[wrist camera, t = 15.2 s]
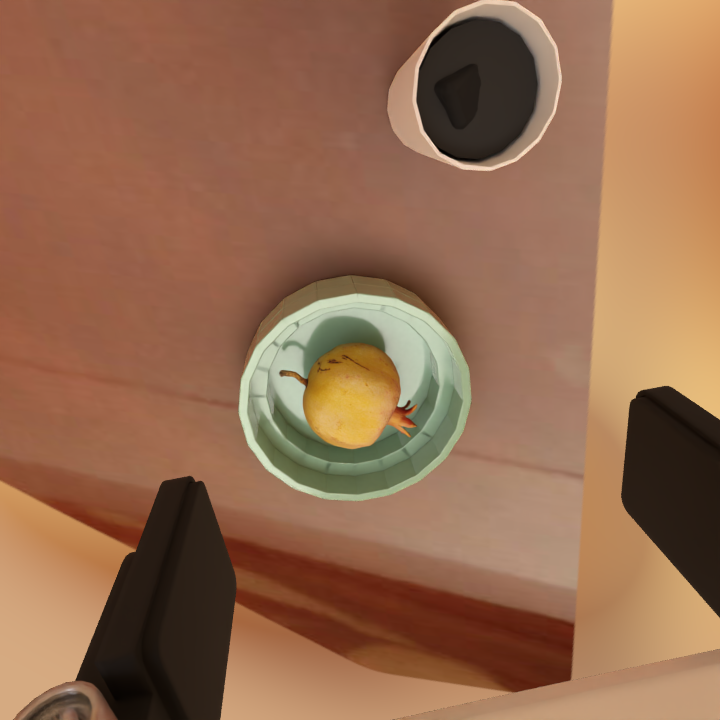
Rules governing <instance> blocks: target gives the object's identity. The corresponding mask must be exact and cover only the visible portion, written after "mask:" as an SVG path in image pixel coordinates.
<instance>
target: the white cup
mask: <svg viewBox="0 0 720 720" xmlns="http://www.w3.org/2000/svg"><path fill="white" fill-rule="evenodd" d="M561 82H562V76H561V69H560V63H559V56H558V49H557V46H556V44H555V42H554V40H553V39H552V37H551V35H550V34H549V32H548V30H547V28H546V27H545V25H544V23H543V22H542V20H541V19H540V18H539V17H537V16H536V15H534V14H533V13H531V12H530V11H528V10H527V9H525V8H524V7H522V6H521V5H520V4H518V3H517V2H512V1H502V0H480V1H478V2H475V3H473V4H470V5H467V6H465V7H462V8H459V9H457V10H455V11H454V12H453V13H452V14H451V15H450V16H449V17H448V18H446V19H445V20H444V21H443V22H442V23H441V24H440V25H439V26H438V27H437V28H436V29H435V30H434V31H433V32H432V33H431V34H430V35H429V36H428V38H427V39H426V40H425V41H424V42H423V43H422V44H421V45H420V46H419V48H418V49H417V50H416V51H415V52H414V53H413V54H412V55H411V57H410V58H409V59H408V60H407V61H406V62H405V63H404V64H403V66H402V67H401V68H400V69H399V70H398V71H397V73H396V75H395V77H394V80H393V82H392V84H391V86H390V88H389V93H388V106H387V112H388V116H389V119H390V123H391V126H392V130H393V131H394V133H395V134H396V135H397V137H398V138H399V139H400V140H401V142H402V143H403V144H404V145H405V146H407V147H409V148H410V149H412V150H414V151H416V152H418V153H419V154H423V155H425V156H428V157H431V158H433V159H436V160H439V161H441V162H444V163H447V164H449V165H452V166H455V167H457V168H460V169H465V170H480V171H491V170H494V169H497V168H500V167H502V166H505V165H508V164H510V163H513V162H516V161H517V160H519V159H520V158H521V157H522V156H523V155H524V154H525V153H526V152H528V151H529V150H530V149H531V148H532V147H533V146H534V145H536V144H537V143H538V142H539V141H540V139H541V138H542V136H543V134H544V132H545V130H546V129H547V127H548V125H549V123H550V122H551V120H552V118H553V116H554V114H555V113H556V108H557V103H558V98H559V92H560V87H561Z"/></svg>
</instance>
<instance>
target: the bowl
mask: <svg viewBox="0 0 720 720" xmlns="http://www.w3.org/2000/svg"><path fill="white" fill-rule="evenodd" d="M346 343H365V344H369V345H373V346H375V347H377V348H379V349H381V350H382V351H383V352H384V353H386V354H387V355H388V356H389V357H390V358H391V360H392V361H393V363H394V365H395V367H396V369H397V372H398V374H399V378H400V387H401V395H400V399H399V402H398V405H397V406H398V407H404V406H405V405H406V404H407V402H408V400H410V401H411V403H410V406H409V407H407V408H406V410H408V409H410V408H411V407H413V406H414V405H416V404H417V408H416V409H415V410H414V411H413V412H412V413H411V414H410V415H408V416H406V417H407V418H409V419H411V420H412V421H413V422H414V423H415V424H416V425H417V427H413V428H407V427H404V426H402V428H404V429H405V430H406V431H407V432H408V433H410V435H411V437H408V436H407V435H405V434H404V433H401V431H399V430H397V429H396V428H395V427H393V426H391V425H386V427H385V428H384V430H383V432H382V433H381V435H380V436H379V437H378V439H377V440H376V441H375V442H374V443H373V444H372V445H370V446H366V447H361V448H356V449H347V448H342V447H338V446H334V445H332V444H330V443H327V442H325V441H324V440H322V439H321V438H320V437H319V436H318V435H317V434H316V433H315V432H314V431H313V430H312V429H311V427H310V426H309V424H308V422H307V420H306V418H305V414H304V410H303V395H304V391H305V388H306V386H305V385H304V384H302V383H300V382H299V381H298V380H297V379H296V378H294V377H287V376H283V377H280V375H279V372H280V371H281V370H287V371H293V372H296V373H298V374H299V375H300V376H302V377H303V378H305V379H307V378H308V374H309V372H310V370H311V368H312V366H313V365H314V363H315V362H316V361H317V360H318V358H319V357H321V356H322V355H324V354H325V353H327V352H329V351H330V350H332V349H333V348H334V347H336V346H338V345H341V344H346ZM471 400H472V398H471V386H470V373H469V367H468V365H467V363H466V361H465V358H464V356H463V354H462V352H461V350H460V348H459V346H458V343H457V341H456V339H455V338H454V336H453V335H452V334H451V333H450V331H449V330H448V329H447V327H446V326H445V325H444V323H443V322H442V321H441V320H440V318H439V317H438V316H437V315H436V314H435V313H434V312H433V311H432V310H431V309H430V308H429V307H428V306H427V305H426V304H425V303H424V302H423V301H422V300H421V299H420V298H419V297H418V296H417V295H416V294H415V293H413V292H411V291H409V290H407V289H404V288H402V287H400V286H398V285H396V284H394V283H392V282H390V281H388V280H385V279H378V278H371V277H363V276H355V275H351V276H350V275H348V276H342V277H337V278H331V279H326V280H320V281H316V282H313V283H311V284H309V285H308V286H306V287H304V288H302V289H300V290H298V291H296V292H295V293H293V294H291V295H289V296H287V297H285V299H283V300H282V301H281V302H280V303H279V304H278V305H277V306H276V307H275V308H274V309H273V310H272V312H271V313H270V314H269V315H268V316H267V317H266V318H265V319H264V320H263V321H262V322H261V323H260V326H259V328H258V330H257V332H256V334H255V337H254V339H253V341H252V343H251V345H250V348H249V350H248V352H247V356H246V360H245V364H244V368H243V372H242V376H241V380H240V394H239V408H238V412H239V413H238V414H239V417H240V420H241V424H242V427H243V431H244V434H245V437H246V441H247V443H248V445H249V447H250V448H251V450H252V451H253V452H254V454H255V455H256V456H257V458H258V459H259V460H260V462H261V463H262V464H263V466H264V467H265V468H266V470H268V471H269V472H270V473H272V474H273V475H275V476H276V477H277V478H279V479H280V480H282V481H283V482H284V483H286V484H287V485H289V486H290V487H292V488H294V489H296V490H299V491H302V492H304V493H307V494H310V495H313V496H316V497H319V498H322V499H328V500H345V501H362V500H367V499H372V498H378V497H383V496H388V495H392V494H394V493H396V492H398V491H400V490H402V489H404V488H406V487H408V486H410V485H412V484H414V483H416V482H419V481H420V480H422V479H423V478H424V477H425V476H426V475H428V474H429V473H430V472H431V471H432V470H433V469H435V468H436V467H437V466H438V465H439V464H440V463H441V462H443V461H444V460H445V458H447V456H448V454H449V453H450V451H451V450H452V448H453V447H454V445H455V444H456V442H457V441H458V439H459V437H460V436H461V434H462V433H463V431H464V427H465V423H466V420H467V416H468V412H469V408H470V405H471Z"/></svg>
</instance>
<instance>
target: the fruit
mask: <svg viewBox="0 0 720 720" xmlns="http://www.w3.org/2000/svg"><path fill="white" fill-rule="evenodd" d="M279 375H280V377H283V376H287V377H294V378H296V379H297V380H298V381H299V382H300V383H302V384H304V385H305V386H306V388H305V391H304V395H303V410H304V414H305V418H306V420H307V422H308V424H309V426H310V427H311V429H312V430H313V431H314V432H315V433H316V434H317V435H318V436H319V437H320V438H321V439H322V440H324V441H325V442H327V443H330V444H332V445H334V446H338V447H342V448H347V449H356V448H361V447H366V446H370V445H372V444H373V443H374V442H375V441H376V440H377V439H378V437H379V436H380V435H381V433H382V432H383V430H384V428H385V427H386V425H391V426H393V427H395V428H396V429H397V430H399V431H401V433H404V434H405V435H407V436H408V437H411V435H410V433H408V432H407V431H406V430H405V429H404V428H402V426H404V427H407V428H413V427H417V425H416V424H415V423H414V422H413V421H412V420H411V419H409V418H407V417H406V416H408V415H410V414H411V413H412V412H413V411H414V410H415V409H416V408H417V404H416V405H414V406H413V407H411V408H410V409H408V410H406V408H407V407H409V406H410V403H411V401H410V400H408V402H407V404H406V405H405V406H404V407H398V406H397V405H398V402H399V399H400V395H401V387H400V378H399V374H398V372H397V369H396V367H395V365H394V363H393V361H392V360H391V358H390V357H389V356H388V355H387V354H386V353H384V352H383V351H382V350H381V349H379V348H377V347H375V346H373V345H369V344H365V343H346V344H341V345H338V346H336V347H334V348H333V349H332V350H330V351H329V352H327V353H325V354H324V355H322V356H321V357H319V358H318V360H317V361H316V362H315V363H314V365H313V366H312V368H311V370H310V372H309V374H308V378H307V379H305V378H303V377H302V376H300V375H299V374H298V373H296V372H293V371H287V370H281V371H280V372H279Z"/></svg>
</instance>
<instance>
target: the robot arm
mask: <svg viewBox="0 0 720 720" xmlns="http://www.w3.org/2000/svg"><path fill="white" fill-rule="evenodd" d="M623 472H624V473H623V482H622V493H621V498H622V502H623V505H624V507H625V509H626V511H627V512H628V514H629V515H630V516H631V517H632V518H633V519H634V520H635V522H636V523H637V524H638V525H639V526H640V527H641V528H642V530H643V531H644V532H645V533H646V534H647V535H648V536H649V538H650V539H651V540H652V541H653V542H654V543H655V544H656V545H657V547H658V548H659V549H660V550H661V551H662V552H663V553H664V555H665V556H666V557H667V558H668V559H669V560H670V562H671V563H672V564H673V565H674V566H675V567H676V568H677V569H678V570H679V572H680V573H681V574H682V575H683V576H684V577H685V578H686V580H687V581H688V582H689V583H690V584H691V585H692V587H693V588H694V589H695V590H696V591H697V592H698V593H699V595H700V596H701V597H702V598H703V599H704V600H705V601H706V603H707V604H708V605H709V606H710V607H711V608H712V609H713V611H714V612H715V613H716V614H717V615H718V616H719V617H720V420H719V419H718V418H716V417H715V416H713V415H712V414H710V413H709V412H707V411H706V410H704V409H703V408H702V407H700V406H699V405H697V404H696V403H694V402H693V401H691V400H690V399H688V398H687V397H685V396H684V395H682V394H681V393H679V392H678V391H676V390H675V389H673V388H672V387H669V386H662V387H657V388H652V389H647V390H642V391H640V392H638V394H637V395H636V398H635V399H633V400H632V401H631V402H630V408H629V418H628V429H627V440H626V450H625V461H624V471H623ZM235 597H236V577H235V572H234V569H233V566H232V563H231V561H230V558H229V555H228V552H227V549H226V546H225V543H224V540H223V537H222V534H221V531H220V528H219V525H218V522H217V519H216V516H215V514H214V511H213V508H212V505H211V502H210V499H209V496H208V493H207V490H206V487H205V485H204V483H203V482H202V481H198V482H195V480H194V478H193V477H191V476H187V477H182V478H177V479H172V480H166V481H163V482H162V484H161V486H160V488H159V491H158V494H157V496H156V499H155V502H154V504H153V507H152V510H151V512H150V515H149V518H148V520H147V523H146V526H145V528H144V531H143V534H142V536H141V539H140V542H139V544H138V547H137V550H136V552H132V553H129V554H128V555H127V556H126V557H125V559H124V561H123V562H122V565H121V567H120V570H119V572H118V575H117V577H116V580H115V582H114V585H113V587H112V590H111V592H110V595H109V597H108V600H107V602H106V605H105V607H104V610H103V612H102V615H101V618H100V620H99V623H98V625H97V627H96V630H95V633H94V635H93V638H92V640H91V643H90V645H89V648H88V650H87V653H86V655H85V658H84V660H83V663H82V665H81V668H80V670H79V673H78V675H77V678H76V680H75V681H74V682H66V683H64V684H61V685H58V686H56V687H53V688H51V689H49V690H48V691H46V692H44V693H43V694H41V695H40V696H38V697H37V698H35V699H34V700H33V701H31V702H30V703H29V704H28V705H27V706H26V707H25V708H24V709H23V710H21V711H20V712H19V713H18V714H17V716H16V717H15V718H14V719H13V720H220V717H221V709H222V700H223V693H224V685H225V677H226V669H227V661H228V653H229V645H230V636H231V629H232V620H233V612H234V605H235ZM394 720H720V649H717V650H713V651H708V652H703V653H698V654H694V655H689V656H684V657H680V658H675V659H670V660H665V661H660V662H656V663H651V664H646V665H641V666H637V667H632V668H627V669H623V670H618V671H613V672H609V673H604V674H599V675H595V676H590V677H585V678H581V679H576V680H572V681H567V682H562V683H558V684H553V685H548V686H544V687H539V688H535V689H530V690H525V691H521V692H516V693H512V694H507V695H502V696H498V697H493V698H489V699H484V700H479V701H475V702H470V703H466V704H462V705H457V706H452V707H448V708H443V709H439V710H434V711H430V712H425V713H421V714H416V715H412V716H407V717H403V718H398V719H394Z"/></svg>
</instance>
